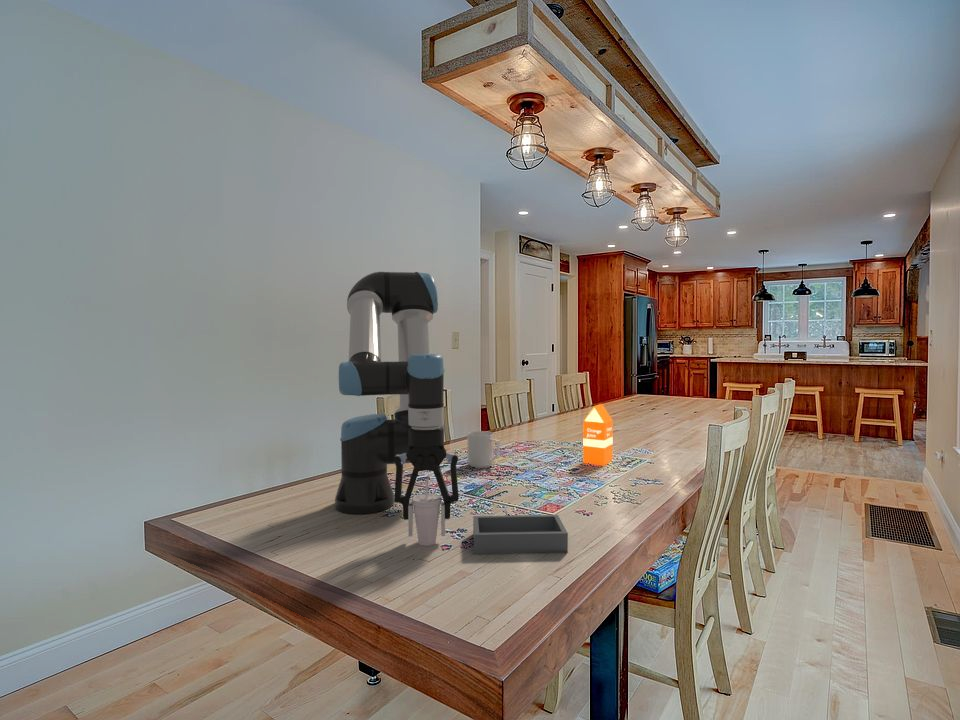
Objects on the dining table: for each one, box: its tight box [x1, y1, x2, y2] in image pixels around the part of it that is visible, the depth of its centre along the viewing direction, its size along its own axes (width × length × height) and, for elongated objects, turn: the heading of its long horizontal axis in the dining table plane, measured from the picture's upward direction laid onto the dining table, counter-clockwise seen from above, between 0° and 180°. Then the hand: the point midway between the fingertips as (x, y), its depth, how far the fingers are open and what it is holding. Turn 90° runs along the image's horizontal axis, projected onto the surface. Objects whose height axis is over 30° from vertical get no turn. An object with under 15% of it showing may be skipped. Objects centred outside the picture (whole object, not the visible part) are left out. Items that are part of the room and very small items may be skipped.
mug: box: [466, 430, 501, 469], centre depth 178 cm, size 12×9×11 cm
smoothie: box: [411, 477, 443, 547], centre depth 113 cm, size 6×6×14 cm
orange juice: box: [582, 403, 614, 467], centre depth 184 cm, size 8×9×20 cm
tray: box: [472, 514, 569, 555], centre depth 113 cm, size 11×19×4 cm, turn 92°
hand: (427, 533), depth 113 cm, fingers closed on smoothie, 6 cm apart
